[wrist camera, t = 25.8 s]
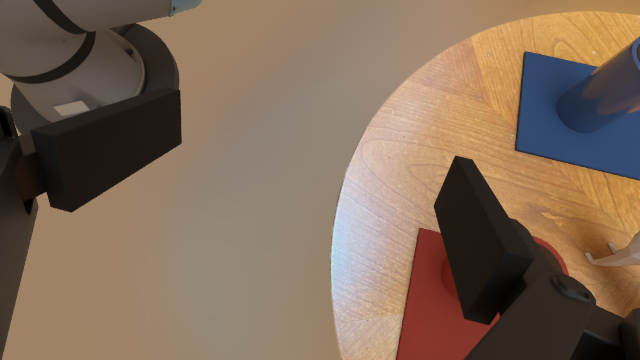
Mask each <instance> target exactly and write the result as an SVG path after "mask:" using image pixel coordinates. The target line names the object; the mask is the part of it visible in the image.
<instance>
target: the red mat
mask: <svg viewBox="0 0 640 360" xmlns="http://www.w3.org/2000/svg"><path fill="white" fill-rule="evenodd" d="M446 256H447V254H446V250H445V246H444V243H443V239H442V235H441V233H439V232H435V231H431V230H427V229H423V228H419V234H418V239H417V245H416V251H415V256H414V262H413V268H412V273H411V279H410V285H409V290H408V296H407V302H406V307H405V313H404V319H403V324H402V330H401V336H400V341H399V347H398V353H397V358H396V360H463V359H464V358H465V357H466V356H467V355H468V354H469V353H470V351H471V350H472V349H473V348H474V347H475V346H476V345H477V343H478V342H479V341H480V340H481V339H482V338H483V337H484V335H485V334H486V333H487V332H488V331H489V330H490V329H491V327H492V326H493V325H494V324H495V323H496V322H497V321H498V320H499V318H500V314H499V312H498V314H497V315H496V317H495V318H494V320H493V321H492V322H491V324H490V325H489V326H488V325H485V324H481V323H477V322H474V321H470V320H466V319H464V316H463V313H462V309H461V305H460V302H459V301H457V300H456V299H455V298H453V297H452V296H451V295H450V293H449V292H448V291H447V289H446V287H445V285H444V283H443V280H442V265H443V262H444V259H445V258H446Z"/></svg>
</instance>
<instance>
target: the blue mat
mask: <svg viewBox="0 0 640 360" xmlns="http://www.w3.org/2000/svg"><path fill="white" fill-rule="evenodd" d="M597 68H598V67H596V66H591V65H587V64H582V63H577V62H573V61H568V60H564V59H559V58H555V57H550V56H545V55H541V54H536V53H532V52H527V51H526V52H525V53H524V62H523V73H522V83H521V94H520V105H519V115H518V126H517V136H516V147H515V150H516V151H520V152H524V153H528V154H533V155H537V156H541V157H545V158H549V159H553V160H557V161H562V162H566V163H570V164H574V165H578V166H582V167H586V168H591V169H595V170H599V171H603V172H607V173H611V174H615V175H620V176H624V177H628V178H632V179H636V180H640V109H638V110H636V111H635V112H633V113H631V114H629V115H627V116H625V117H623V118H621V119H619V120H618V121H616V122H614V123H612V124H610V125H608V126H606V127H604V128H602V129H600V130H599V131H597V132H594V133H580V132H577V131H574V130H572V129H571V128H569V127H568V126H566V125H565V124H564V123H563V122H562V120H561V119H560V117H559V115H558V113H557V101H558V99H559V98H560V96H561V95H562V94H564V93H565V92H566V91H568V90H569V89H570V88H572V87H573V86H574V85H576V84H577V83H578V82H580V81H581V80H582V79H584V78H585V77H586V76H588V75H589V74H590V73H592V72H593V71H594V70H596V69H597Z"/></svg>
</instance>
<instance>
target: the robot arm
mask: <svg viewBox="0 0 640 360" xmlns="http://www.w3.org/2000/svg"><path fill="white" fill-rule="evenodd" d="M201 1H202V0H0V73H2V74H4V75H5V76H7V77H8V78H10V79H11V80H12V81H13V82H14V84H15V85H16V86H17V88H18V89H19V90H20V91H21V93H22V94H23V95H24V96H25V98H26V99H27V100H28V101H29V103H30V104H31V105H32V106H33V108H34V109H35V110H36V111H37V112H38V113H39V114H41V115H42V116H43V117H44V118H45V119H47V120H48V121H50V122H52V123H50V124H47V125H44V126H41V127H37V128H34V129H31V130H30V132H29V133H26V134H23V135H20V136H18V134H17V131H16V128H15V124H14V120H13V117H12V114H11V110H10V109H9V108H7V107H5V106H0V360H2V356H3V352H4V348H5V343H6V339H7V335H8V331H9V327H10V323H11V319H12V314H13V310H14V306H15V302H16V298H17V294H18V290H19V286H20V282H21V277H22V273H23V269H24V265H25V261H26V257H27V253H28V249H29V244H30V240H31V236H32V232H33V228H34V224H35V219H36V215H37V211H38V203H37V199H36V197H37V196H39V195H40V194H43V193H45V192H47V195H48V199H49V202H50V206H51V207H53V208H57V209H60V210H64V211H68V212H73V211H75V210H76V209H78V208H79V207H81V206H83V205H84V204H86V203H87V202H89V201H91V200H92V199H94V198H95V197H97V196H99V195H100V194H102V193H103V192H105V191H107V190H108V189H110V188H111V187H113V186H115V185H116V184H118V183H119V182H121V181H123V180H124V179H126V178H127V177H129V176H130V175H132V174H134V173H135V172H137V171H138V170H140V169H142V168H143V167H145V166H146V165H148V164H149V163H151V162H153V161H154V160H156V159H158V158H159V157H161V156H162V155H164V154H165V153H167V152H169V151H170V150H172V149H173V148H175V147H177V146H178V145H180V144H181V143H182V142H181V141H182V140H181V102H180V90H177V89H173V88H169V87H163V88H159V89H156V90H153V91H150V92H147V93H144V92H145V90H146V86H147V81H148V72H147V67H146V64H145V61H144V60H143V58H142V56H141V55H140V54H139V53H138V51H137V50H136V49H135V48H134V46H133V45H132V44H130V43H129V42H128V41H127V40H126V39H124V38H123V36H124V35H125V34H126V33H127V32H128V31H129V30H130V29H131V27H132V26H133V25H134V24H135V23H137V22H142V21H147V20H152V19H157V18H162V17H166V16H169V17H171V16H174V14H175V13H178V12H182V11H185V10H189V9H192V8H195V7H196V6H198V5H199V4H200V3H201ZM123 25H125V26H124V27H123V28H122V29H121V30H120V31H119V32H118V33H115V32H113V31H112V30H110V29H109V28H113V27H118V26H123ZM434 209H435V213H436V217H437V221H438V224H439V228H440V232H441V235H442V239H443V243H444V246H445V250H446V254H447V257H448V261H449V265H450V268H451V272H452V276H453V279H454V283H455V287H456V291H457V294H458V298H459V302H460V305H461V309H462V313H463V316H464V319H466V320H470V321H474V322H477V323H481V324H485V325H488V326H489V325H490V324H491V322H492V321H493V320H494V318H495V317H496V315H497V314H498V312H499V314H500V318H499V320H498V321H497V322H496V323H495V324H494V325H493V326H492V327H491V329H490V330H489V331H488V332H487V333H486V334H485V335H484V337H483V338H482V339H481V340H480V341H479V342H478V343H477V345H476V346H475V347H474V348H473V349H472V350H471V351H470V353H469V354H468V355H467V356H466V357H465V358H464V359H463V360H640V308H637V309H633V310H632V311H631V312H630V313H629V314H628V315H627V316H626V317H625V318H623V317H620V316H618V315H616V314H614V313H612V312H609V311H607V310H605V309H603V308H600V307H598V306H596V299H595V298H594V296H593V294H592V293H591V292H590V291H589V290H588V289H587V288H586V287H585V286H584V285H583V284H581V283H580V282H578V281H577V280H575V279H574V278H572V277H570V276H568V275H566V274H564V273H562V272H559V271H556V270H555V269H554V268H553V266H552V265H551V263H550V262H549V260H548V259H547V257H546V256H545V254H544V253H543V251H542V250H541V249H539V246H538V244H537V243H536V241H534V238H533V237H532V235H531V234H530V232H529V231H528V230H527V229H526V228H525V227H524V226H523V225H522V224H520V223H519V222H518V221H517V220H515V219H511V218H509V217H508V215H507V214H506V212H505V210H504V209H503V207H502V206H501V204H500V203H499V201H498V199H497V198H496V196H495V195H494V193H493V192H492V190H491V188H490V187H489V185H488V184H487V182H486V180H485V179H484V177H483V176H482V174H481V173H480V171H479V169H478V168H477V166H476V165H475V163H474V161H473V160H472V159H468V158H463V157H459V156H455V157H454V160H453V162H452V164H451V167H450V169H449V171H448V174H447V176H446V178H445V181H444V183H443V185H442V188H441V190H440V192H439V195H438V197H437V199H436V202H435V204H434Z"/></svg>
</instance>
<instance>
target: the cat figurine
mask: <svg viewBox="0 0 640 360" xmlns="http://www.w3.org/2000/svg"><path fill="white" fill-rule="evenodd" d="M608 246H609V247H610V249H611V250H612V252H613V254H615V255H613V256H609V257H605V258H601V259H598V260H594V259H593V258H592V256H591V255H590V253H589V252H586V253H584V254H585V256H586V257H587V259H588V261H589V262H590V264H594V265H603V266H615V267H616V266H621V265H640V232H638V233H637V234H635V235H634V237H633V239H632V240H631V242H630V243H629V245H628V246H627V247H625V248H624V249H621V250H617V249H616V248H615V246H614V245H613V244H612V242H610V243H608Z"/></svg>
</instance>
